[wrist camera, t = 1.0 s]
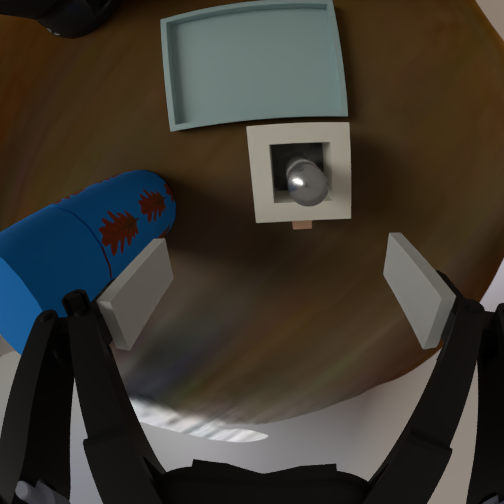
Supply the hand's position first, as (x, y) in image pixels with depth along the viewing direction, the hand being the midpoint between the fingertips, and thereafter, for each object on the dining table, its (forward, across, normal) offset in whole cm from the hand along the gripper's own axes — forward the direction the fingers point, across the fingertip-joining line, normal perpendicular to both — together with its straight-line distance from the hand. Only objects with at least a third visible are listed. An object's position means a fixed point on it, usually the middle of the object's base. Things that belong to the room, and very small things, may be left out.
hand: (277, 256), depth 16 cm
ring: (+16, +2, +2) cm, 16 cm away
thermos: (+20, -19, -2) cm, 27 cm away
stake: (+20, +2, +3) cm, 20 cm away
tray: (+20, -2, +16) cm, 25 cm away
